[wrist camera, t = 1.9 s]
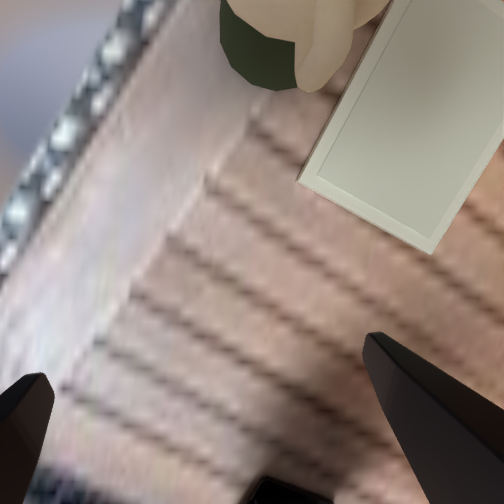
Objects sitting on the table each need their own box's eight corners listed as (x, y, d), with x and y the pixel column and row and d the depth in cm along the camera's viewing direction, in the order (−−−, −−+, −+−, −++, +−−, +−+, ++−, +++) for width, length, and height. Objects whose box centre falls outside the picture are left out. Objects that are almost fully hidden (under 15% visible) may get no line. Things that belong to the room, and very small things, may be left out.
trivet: (547, 51, 19) (563, 44, 18) (423, 252, 21) (432, 255, 20) (416, -46, 17) (427, -59, 16) (295, 181, 19) (298, 180, 18)
